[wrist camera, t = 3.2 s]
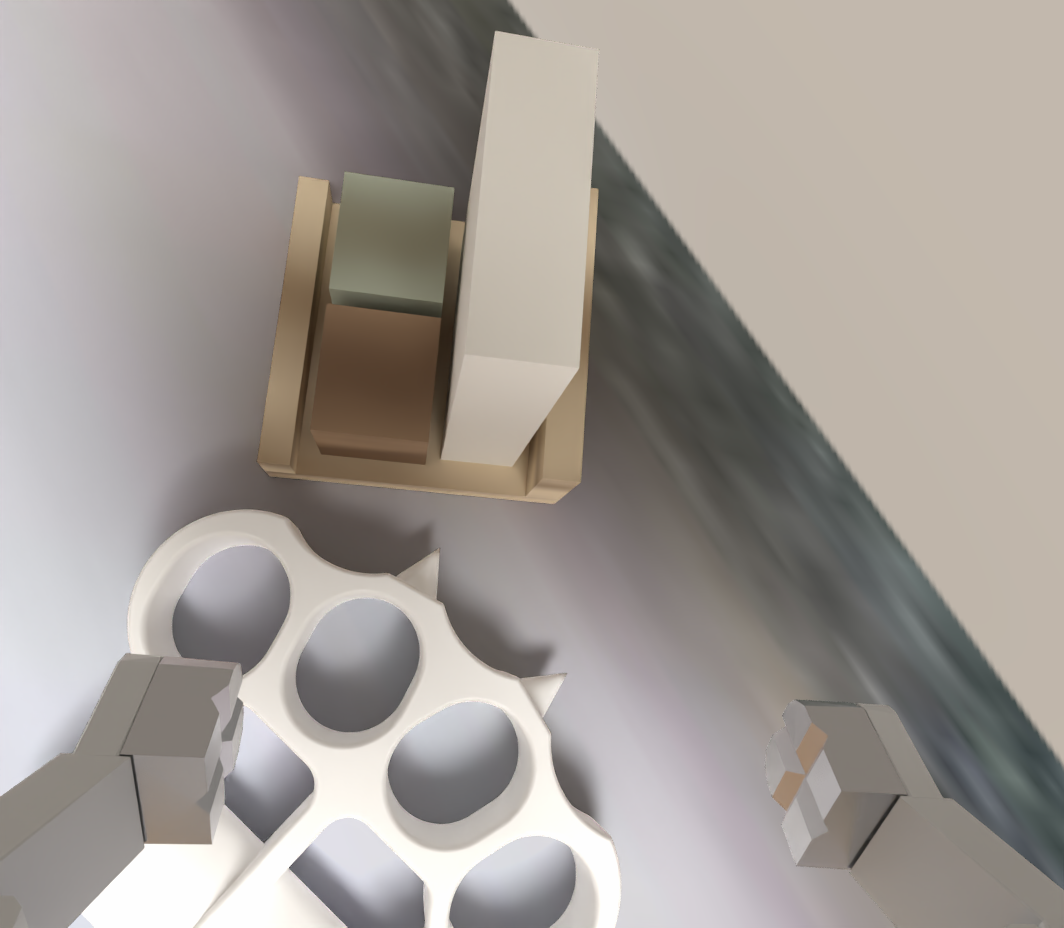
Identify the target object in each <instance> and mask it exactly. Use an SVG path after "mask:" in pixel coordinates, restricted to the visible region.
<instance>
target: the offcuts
mask: <svg viewBox="0 0 1064 928" xmlns="http://www.w3.org/2000/svg"><path fill="white" fill-rule="evenodd" d="M453 198H454V188H452V187H445V186H439V185H432V184H425V183H419V182H412V181H405V180H399V179H392V178H385V177H379V176H372V175H365V174H359V173H352V172H344V180H343V187H342V195H341V202H340V210H339V217H338V224H337V232H336V239H335V247H334V254H333V262H332V269H331V276H330V284H329V291H330V296H331V300H332V304H328V303H327V306H326V314H325V321H324V328H323V336H322V343H321V351H320V358H319V365H318V373H317V380H316V388H315V395H314V403H313V410H312V417H311V425H310V431H311V433H312V435H313V437H314V440H315V442H316V444H317V446H318V448H319V450H320V453H321V454H322V455H332V456H342V457H352V458H361V459H371V460H381V461H391V462H401V463H410V464H420V465H425V464H426V457H427V450H428V443H429V433H430V424H431V414H432V404H433V394H434V384H435V375H436V365H437V355H438V345H439V335H440V326H441V313H442V305H443V296H444V286H445V277H446V267H447V257H448V247H449V237H450V228H451V218H452V208H453Z"/></svg>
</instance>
